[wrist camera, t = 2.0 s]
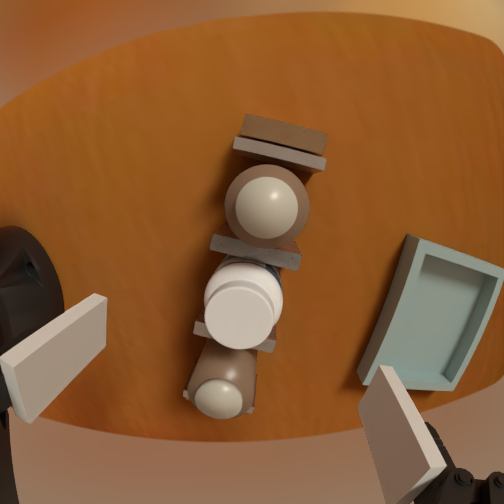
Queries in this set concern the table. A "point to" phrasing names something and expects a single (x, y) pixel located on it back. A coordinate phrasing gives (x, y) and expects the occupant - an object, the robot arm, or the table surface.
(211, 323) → the pill bottle
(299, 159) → the clip rail
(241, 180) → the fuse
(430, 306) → the tray
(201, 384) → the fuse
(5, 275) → the robot arm
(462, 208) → the table surface
